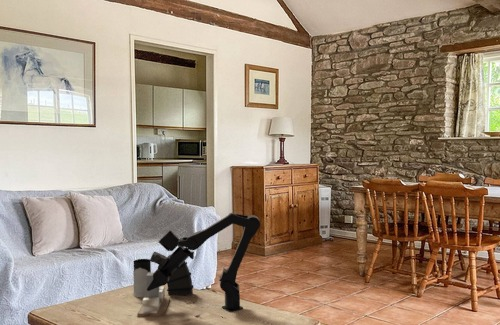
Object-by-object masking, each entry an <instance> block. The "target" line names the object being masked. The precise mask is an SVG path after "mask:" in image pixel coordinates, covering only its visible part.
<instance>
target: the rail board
mask: <svg viewBox="0 0 500 325" xmlns="http://www.w3.org/2000/svg"><path fill="white" fill-rule="evenodd" d="M165 289H166V288H165V285H163V286H160V287H159V297H160V304H159V297H157V298H147V297H142V303H141V304H142V305H141V306H140V308H139V310H138V311H137V315H136V316H137V318H138V317H139V318H140V317H164V315H165V312H166V310H167V308H168V305H169V303H170V301H171V296H166V290H165Z"/></svg>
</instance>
